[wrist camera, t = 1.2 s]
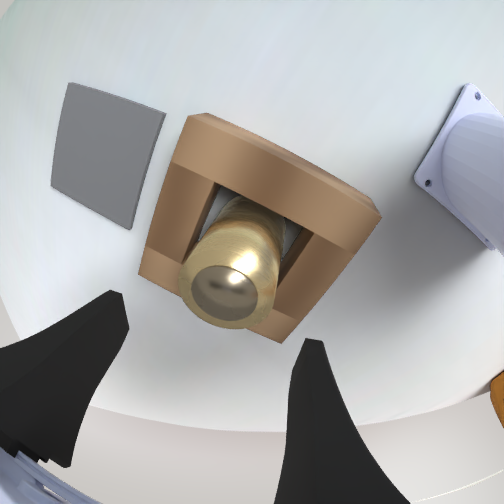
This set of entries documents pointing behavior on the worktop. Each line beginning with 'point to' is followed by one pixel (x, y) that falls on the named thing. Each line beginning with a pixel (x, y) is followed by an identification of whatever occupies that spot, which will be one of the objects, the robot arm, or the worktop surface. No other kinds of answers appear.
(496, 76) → the worktop surface
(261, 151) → the housing
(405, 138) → the worktop surface
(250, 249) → the end cover
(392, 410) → the worktop surface
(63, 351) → the robot arm
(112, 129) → the mat
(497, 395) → the coffee package
